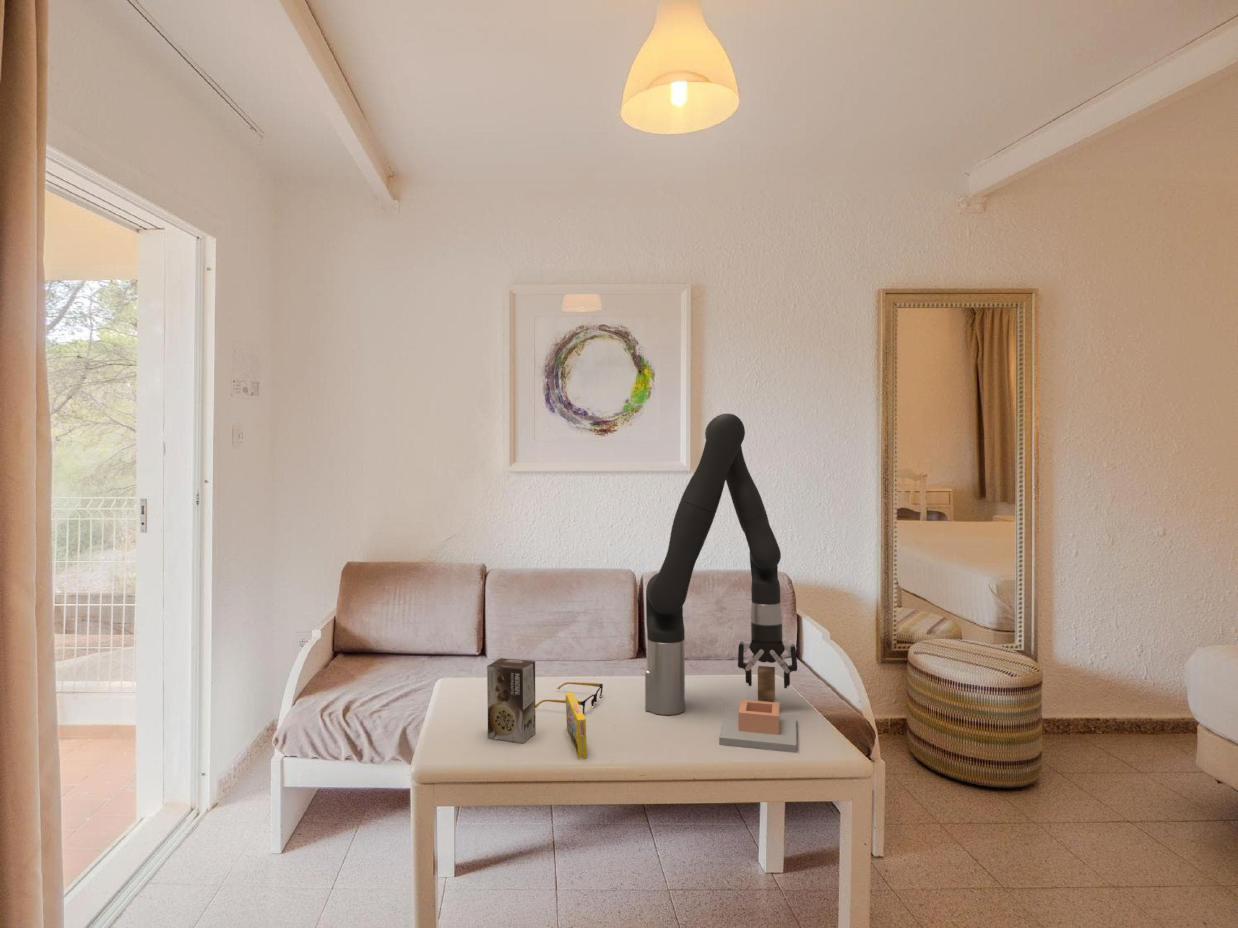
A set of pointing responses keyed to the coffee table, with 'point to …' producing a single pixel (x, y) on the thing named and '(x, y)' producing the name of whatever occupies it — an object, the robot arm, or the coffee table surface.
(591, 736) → the coffee table surface
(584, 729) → the candy box
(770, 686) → the walnut peg
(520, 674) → the coffee box
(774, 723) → the socket block
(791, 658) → the robot arm
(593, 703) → the eyeglasses
